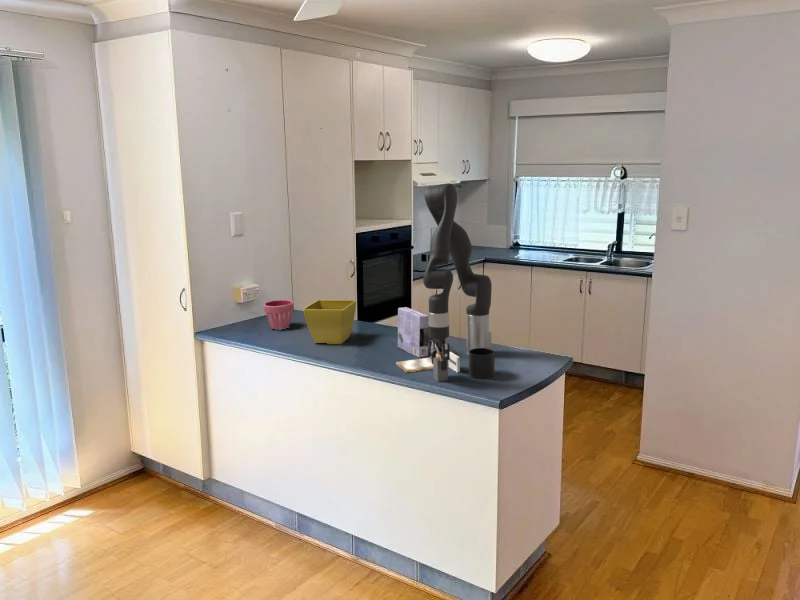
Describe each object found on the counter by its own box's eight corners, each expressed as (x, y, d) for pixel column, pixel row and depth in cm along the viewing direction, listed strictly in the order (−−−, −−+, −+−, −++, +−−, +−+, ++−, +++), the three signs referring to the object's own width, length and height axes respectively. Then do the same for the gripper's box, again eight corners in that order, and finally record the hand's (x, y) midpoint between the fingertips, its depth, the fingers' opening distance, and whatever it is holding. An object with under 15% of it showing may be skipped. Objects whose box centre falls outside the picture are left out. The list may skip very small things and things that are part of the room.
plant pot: (276, 333, 309) (274, 307, 306) (259, 328, 319) (257, 303, 316) (300, 327, 319) (299, 301, 316) (283, 323, 329) (281, 298, 326)
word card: (451, 366, 252) (450, 351, 251) (459, 372, 245) (459, 357, 244) (448, 366, 252) (448, 352, 251) (457, 372, 245) (456, 357, 243)
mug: (503, 371, 244) (503, 348, 242) (485, 380, 235) (485, 356, 233) (481, 367, 250) (481, 344, 248) (464, 375, 241) (463, 352, 239)
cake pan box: (430, 356, 266) (430, 314, 262) (420, 359, 263) (419, 316, 259) (407, 346, 282) (406, 306, 278) (397, 348, 279) (395, 308, 276)
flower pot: (304, 345, 288) (302, 308, 284) (319, 334, 306) (317, 299, 302) (345, 347, 283) (343, 309, 279) (358, 335, 301) (356, 300, 297)
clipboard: (433, 358, 263) (433, 354, 262) (445, 367, 252) (445, 362, 251) (396, 364, 258) (395, 359, 257) (406, 372, 246) (406, 368, 246)
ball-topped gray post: (443, 377, 241) (443, 352, 239) (447, 380, 237) (447, 355, 235) (433, 378, 240) (433, 353, 237) (437, 381, 236) (437, 356, 234)
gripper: (456, 327, 229) (456, 371, 232) (440, 318, 242) (441, 360, 245) (436, 329, 226) (436, 374, 230) (421, 320, 239) (422, 362, 243)
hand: (439, 367), depth 237 cm, fingers open, 8 cm apart
